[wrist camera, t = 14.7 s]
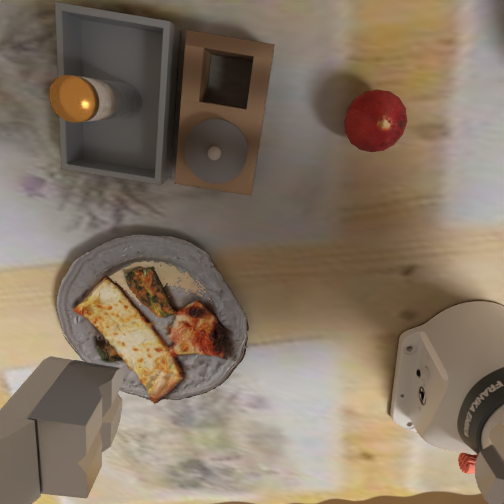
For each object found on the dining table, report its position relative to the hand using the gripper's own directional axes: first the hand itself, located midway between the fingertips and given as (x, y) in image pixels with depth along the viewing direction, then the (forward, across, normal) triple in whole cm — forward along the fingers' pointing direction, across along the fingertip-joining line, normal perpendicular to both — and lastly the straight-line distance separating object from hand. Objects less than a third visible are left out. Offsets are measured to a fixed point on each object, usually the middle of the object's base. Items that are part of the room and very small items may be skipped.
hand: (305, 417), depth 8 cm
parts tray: (+37, +17, -4) cm, 41 cm away
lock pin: (+36, +17, -4) cm, 40 cm away
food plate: (+38, +12, +23) cm, 46 cm away
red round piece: (+37, -9, -6) cm, 39 cm away
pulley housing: (+37, +6, -4) cm, 38 cm away
